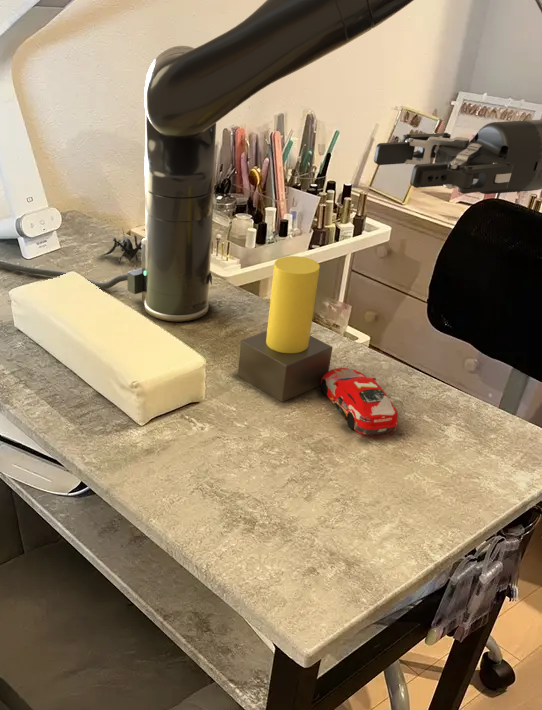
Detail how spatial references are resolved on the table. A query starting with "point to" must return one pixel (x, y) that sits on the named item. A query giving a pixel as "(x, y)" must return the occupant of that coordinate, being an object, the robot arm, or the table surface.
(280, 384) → the block
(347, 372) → the race car
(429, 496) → the table surface
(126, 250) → the creature
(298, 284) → the canister
